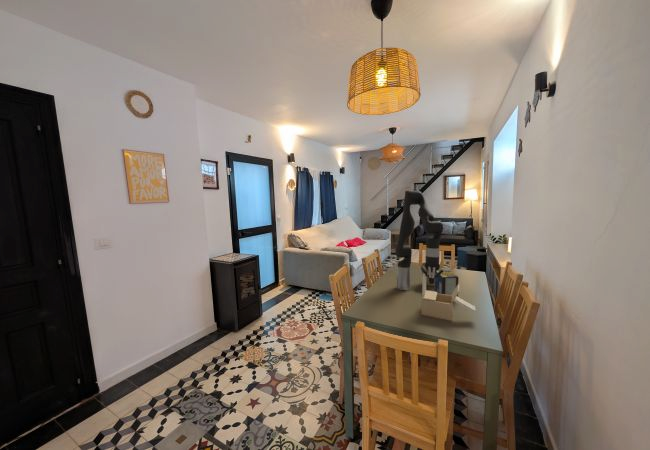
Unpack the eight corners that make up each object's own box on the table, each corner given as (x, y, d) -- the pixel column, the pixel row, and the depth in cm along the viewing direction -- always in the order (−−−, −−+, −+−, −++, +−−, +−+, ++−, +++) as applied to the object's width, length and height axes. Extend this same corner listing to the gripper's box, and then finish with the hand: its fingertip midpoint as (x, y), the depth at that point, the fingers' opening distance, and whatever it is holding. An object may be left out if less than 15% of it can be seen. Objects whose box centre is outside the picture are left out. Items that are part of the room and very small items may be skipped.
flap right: (458, 291, 137) (482, 304, 133) (458, 283, 149) (480, 295, 144) (451, 302, 140) (474, 315, 135) (451, 293, 151) (473, 305, 147)
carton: (421, 315, 148) (421, 299, 147) (424, 305, 160) (424, 291, 159) (451, 320, 140) (452, 304, 139) (452, 310, 152) (453, 295, 151)
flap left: (421, 298, 147) (421, 277, 146) (424, 290, 159) (424, 271, 158) (435, 301, 143) (436, 279, 142) (437, 292, 155) (438, 273, 154)
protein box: (449, 290, 185) (449, 270, 183) (458, 299, 169) (458, 277, 168) (434, 290, 186) (434, 270, 184) (441, 299, 170) (442, 276, 169)
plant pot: (434, 280, 207) (435, 262, 205) (444, 287, 192) (444, 267, 190) (416, 281, 206) (417, 262, 204) (425, 288, 191) (425, 267, 189)
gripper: (419, 255, 148) (418, 283, 150) (444, 257, 142) (443, 287, 144) (421, 252, 154) (420, 280, 156) (445, 254, 148) (444, 283, 150)
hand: (431, 283), depth 150 cm, fingers closed
